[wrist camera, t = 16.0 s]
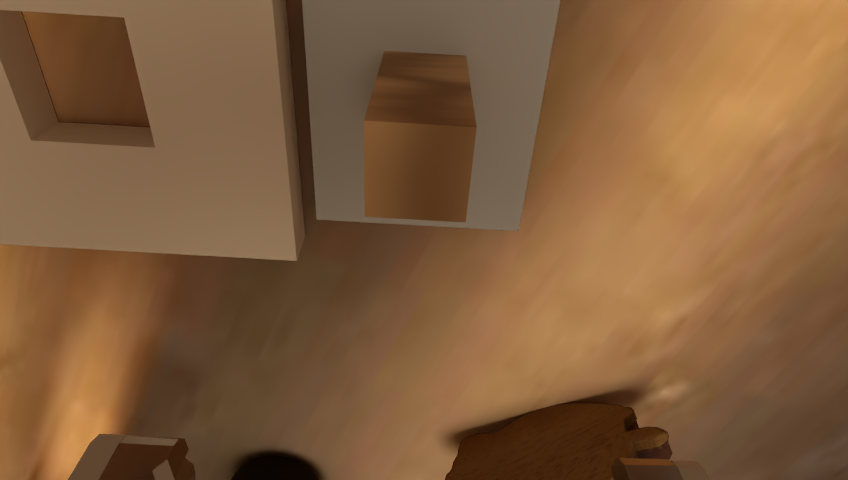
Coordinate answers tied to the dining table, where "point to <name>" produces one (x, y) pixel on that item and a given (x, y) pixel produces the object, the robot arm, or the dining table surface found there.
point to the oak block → (419, 138)
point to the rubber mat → (436, 34)
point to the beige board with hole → (159, 137)
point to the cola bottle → (274, 470)
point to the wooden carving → (559, 445)
